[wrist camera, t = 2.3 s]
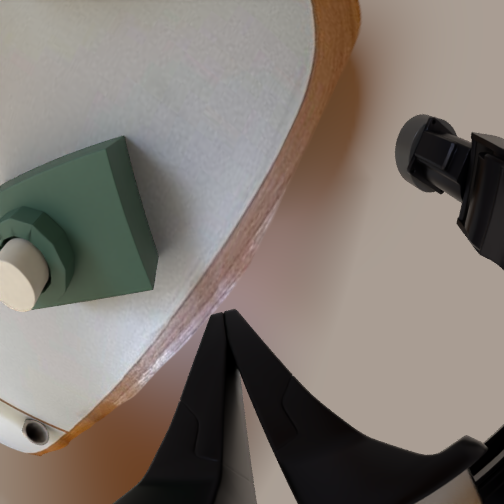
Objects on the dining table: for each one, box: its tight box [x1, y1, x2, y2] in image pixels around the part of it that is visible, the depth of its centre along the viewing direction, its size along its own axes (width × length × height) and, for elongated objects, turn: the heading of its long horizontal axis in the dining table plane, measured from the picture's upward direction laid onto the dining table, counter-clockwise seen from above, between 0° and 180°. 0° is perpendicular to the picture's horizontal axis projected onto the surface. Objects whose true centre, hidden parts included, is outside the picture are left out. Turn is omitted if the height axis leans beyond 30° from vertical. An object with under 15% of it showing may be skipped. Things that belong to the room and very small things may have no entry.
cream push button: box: [0, 238, 49, 312], centre depth 13 cm, size 4×4×3 cm
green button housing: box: [0, 136, 159, 310], centre depth 16 cm, size 12×10×6 cm
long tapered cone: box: [22, 419, 49, 445], centre depth 39 cm, size 6×6×19 cm
